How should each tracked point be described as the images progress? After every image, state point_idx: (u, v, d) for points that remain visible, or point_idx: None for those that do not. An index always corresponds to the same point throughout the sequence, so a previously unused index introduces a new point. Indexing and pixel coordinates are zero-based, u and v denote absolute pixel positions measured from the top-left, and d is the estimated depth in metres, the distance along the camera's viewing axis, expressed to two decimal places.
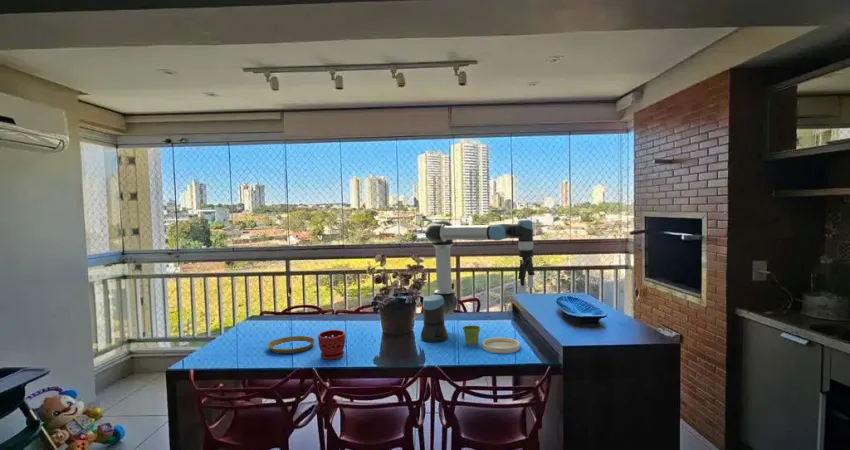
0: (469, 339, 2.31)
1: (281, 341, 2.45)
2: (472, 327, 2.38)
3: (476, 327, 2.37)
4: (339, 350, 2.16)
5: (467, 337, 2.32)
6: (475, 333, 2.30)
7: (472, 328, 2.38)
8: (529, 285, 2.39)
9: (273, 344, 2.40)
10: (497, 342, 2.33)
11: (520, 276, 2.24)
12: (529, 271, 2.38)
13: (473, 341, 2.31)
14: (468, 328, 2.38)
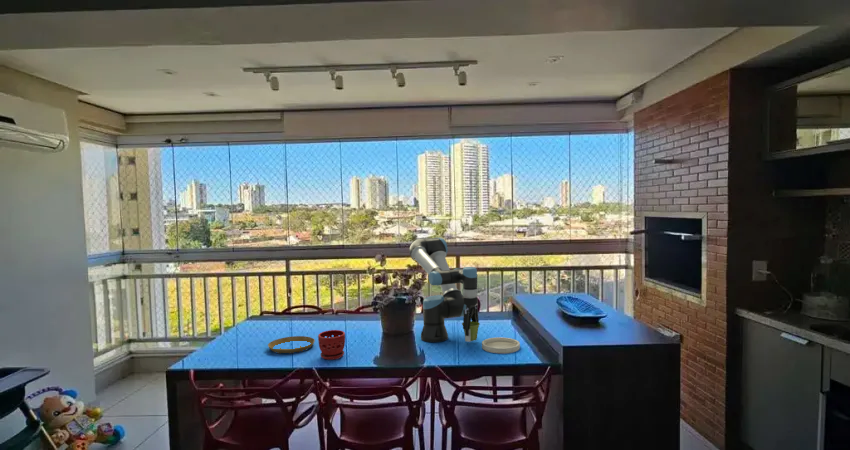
0: None
1: (281, 341, 2.45)
2: (472, 323, 2.38)
3: (476, 323, 2.37)
4: (339, 350, 2.16)
5: None
6: (474, 329, 2.31)
7: (471, 324, 2.38)
8: None
9: (273, 344, 2.40)
10: (497, 342, 2.33)
11: (464, 327, 2.28)
12: (473, 319, 2.37)
13: (472, 337, 2.31)
14: None
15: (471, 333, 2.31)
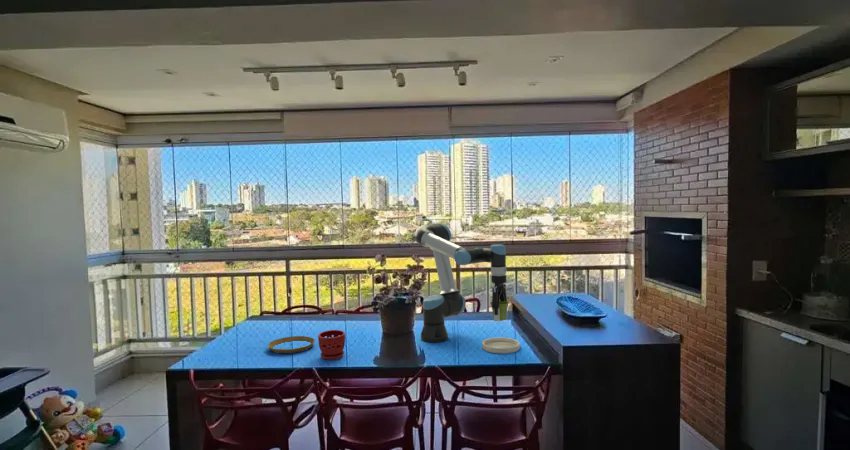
0: None
1: (281, 341, 2.45)
2: (500, 302, 2.30)
3: (504, 302, 2.29)
4: (339, 350, 2.16)
5: None
6: (503, 308, 2.22)
7: (499, 303, 2.30)
8: None
9: (273, 344, 2.40)
10: (497, 342, 2.33)
11: (493, 305, 2.19)
12: (501, 299, 2.29)
13: (501, 316, 2.23)
14: None
15: (500, 312, 2.22)
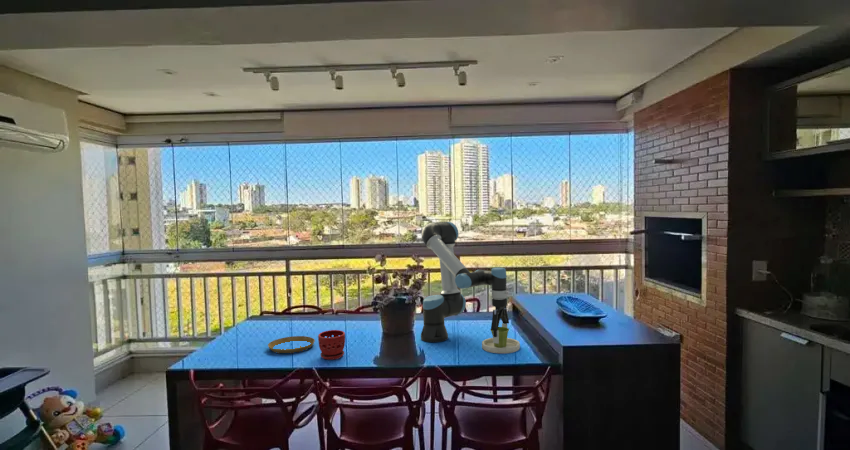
0: None
1: (281, 341, 2.45)
2: (500, 328, 2.30)
3: (504, 328, 2.29)
4: (339, 350, 2.16)
5: None
6: (504, 335, 2.23)
7: (500, 329, 2.30)
8: None
9: (273, 344, 2.40)
10: None
11: (492, 327, 2.18)
12: (503, 319, 2.31)
13: (502, 343, 2.23)
14: None
15: (501, 339, 2.23)
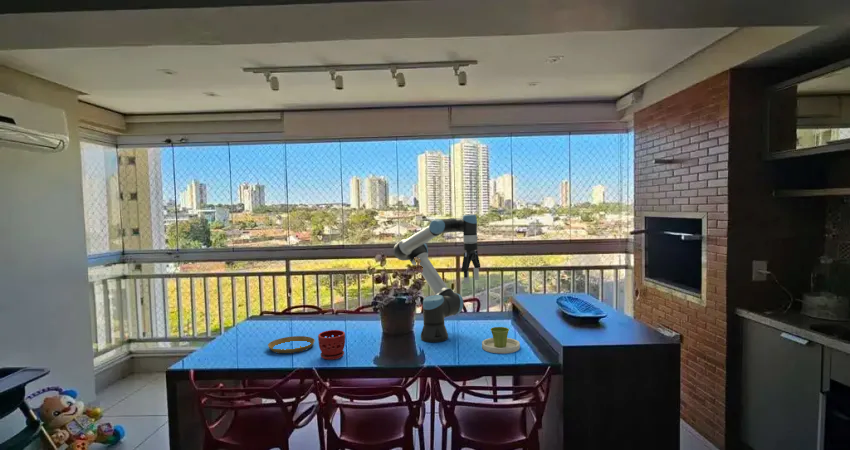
0: (498, 341, 2.23)
1: (281, 341, 2.45)
2: (500, 329, 2.30)
3: (504, 329, 2.29)
4: (339, 350, 2.16)
5: (496, 339, 2.24)
6: (504, 335, 2.23)
7: (500, 330, 2.30)
8: (475, 277, 2.48)
9: (273, 344, 2.40)
10: None
11: (463, 268, 2.34)
12: (475, 264, 2.47)
13: (502, 343, 2.23)
14: (496, 330, 2.30)
15: (501, 339, 2.23)
